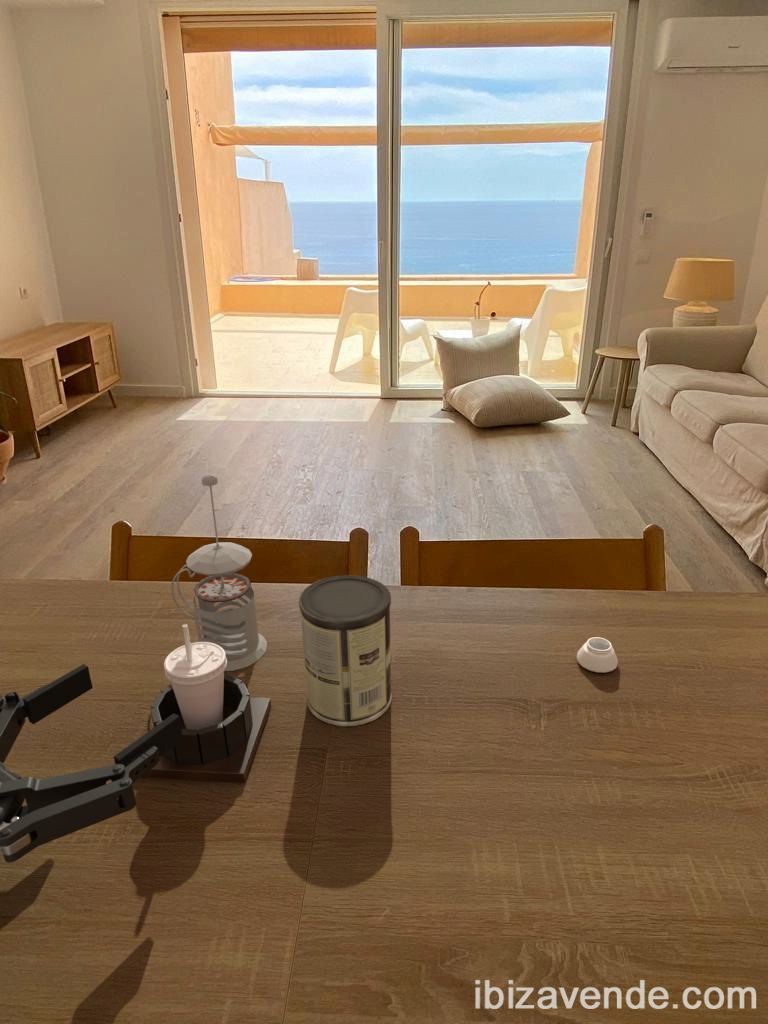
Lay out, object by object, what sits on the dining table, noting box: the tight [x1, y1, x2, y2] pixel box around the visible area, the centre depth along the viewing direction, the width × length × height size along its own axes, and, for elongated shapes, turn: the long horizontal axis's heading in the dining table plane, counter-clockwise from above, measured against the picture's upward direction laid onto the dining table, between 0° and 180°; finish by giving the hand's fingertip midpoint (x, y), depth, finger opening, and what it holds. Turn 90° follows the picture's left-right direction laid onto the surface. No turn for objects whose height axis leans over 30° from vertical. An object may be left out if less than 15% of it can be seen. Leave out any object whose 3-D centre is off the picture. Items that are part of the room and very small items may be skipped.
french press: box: [170, 473, 268, 672], centre depth 88 cm, size 10×12×25 cm
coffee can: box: [298, 574, 393, 727], centre depth 80 cm, size 10×10×14 cm
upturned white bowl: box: [576, 636, 619, 673], centre depth 89 cm, size 5×3×5 cm
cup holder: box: [141, 672, 272, 783], centre depth 76 cm, size 12×12×5 cm
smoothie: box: [163, 623, 227, 730], centre depth 74 cm, size 6×6×14 cm
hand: (131, 699), depth 67 cm, fingers open, 13 cm apart
